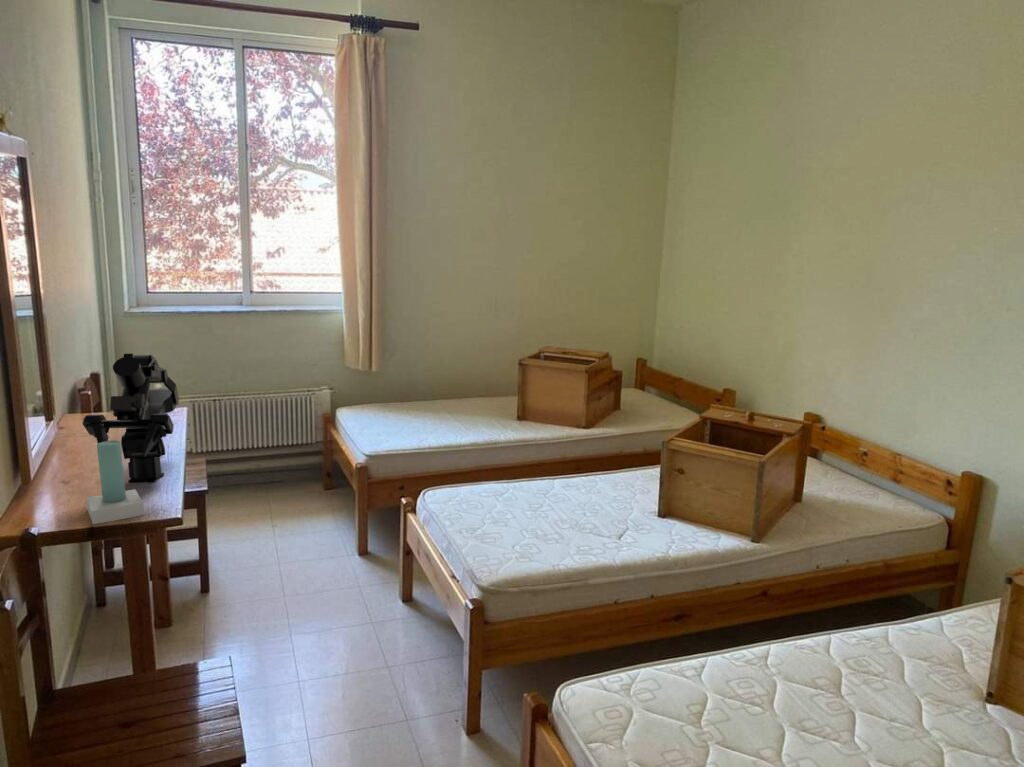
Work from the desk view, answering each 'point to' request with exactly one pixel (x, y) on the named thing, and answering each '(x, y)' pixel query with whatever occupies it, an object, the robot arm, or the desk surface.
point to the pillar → (111, 471)
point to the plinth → (114, 508)
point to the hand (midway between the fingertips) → (122, 456)
